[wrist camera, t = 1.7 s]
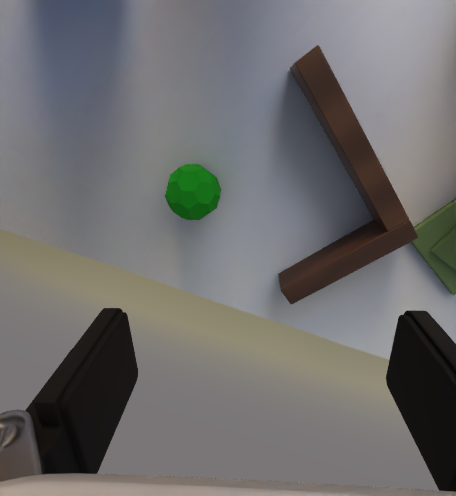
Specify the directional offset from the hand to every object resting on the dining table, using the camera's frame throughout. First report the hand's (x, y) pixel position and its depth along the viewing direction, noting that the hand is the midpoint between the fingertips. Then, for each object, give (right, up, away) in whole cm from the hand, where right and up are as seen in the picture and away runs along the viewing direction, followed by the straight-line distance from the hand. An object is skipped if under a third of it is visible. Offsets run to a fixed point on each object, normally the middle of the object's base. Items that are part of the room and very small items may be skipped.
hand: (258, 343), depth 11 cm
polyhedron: (-4, +9, +20) cm, 23 cm away
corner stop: (+6, +9, +19) cm, 22 cm away
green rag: (+22, +4, +20) cm, 30 cm away
